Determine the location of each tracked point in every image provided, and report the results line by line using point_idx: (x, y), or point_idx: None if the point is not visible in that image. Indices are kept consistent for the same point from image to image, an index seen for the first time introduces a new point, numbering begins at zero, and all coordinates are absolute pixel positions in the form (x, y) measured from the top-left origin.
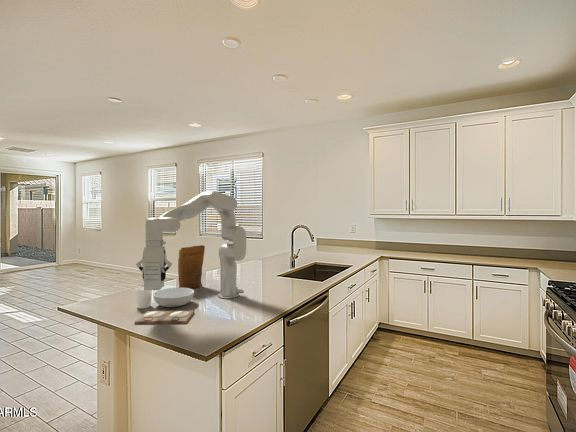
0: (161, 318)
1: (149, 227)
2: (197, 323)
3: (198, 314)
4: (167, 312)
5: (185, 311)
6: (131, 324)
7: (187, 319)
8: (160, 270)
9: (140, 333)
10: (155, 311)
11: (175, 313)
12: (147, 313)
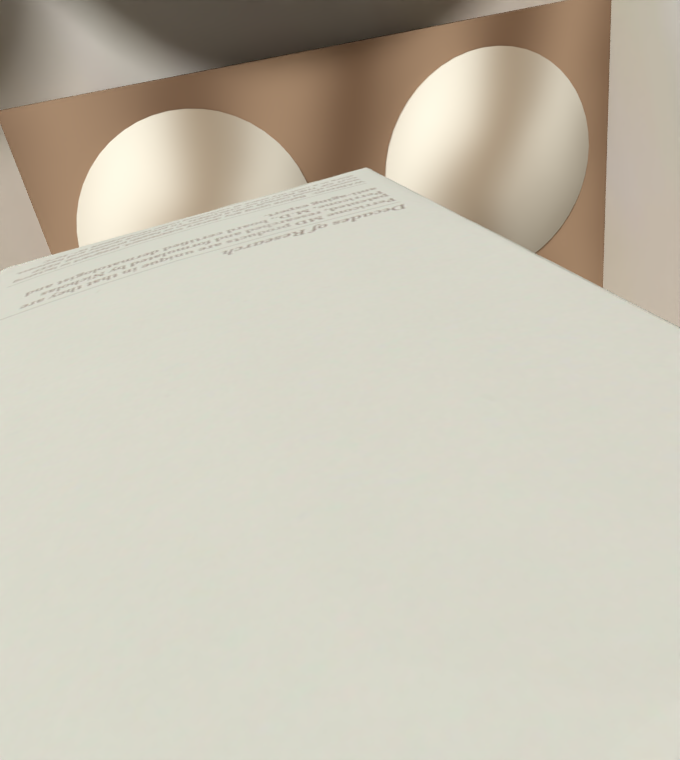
0: None
1: None
2: (675, 286)
3: (646, 38)
4: (314, 122)
5: (523, 58)
6: None
7: (601, 279)
8: None
9: None
10: (138, 126)
11: (435, 155)
12: (87, 222)
